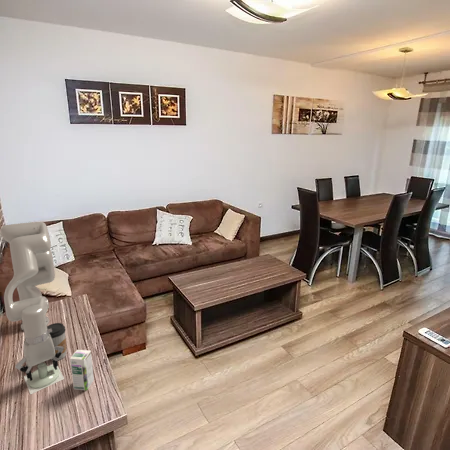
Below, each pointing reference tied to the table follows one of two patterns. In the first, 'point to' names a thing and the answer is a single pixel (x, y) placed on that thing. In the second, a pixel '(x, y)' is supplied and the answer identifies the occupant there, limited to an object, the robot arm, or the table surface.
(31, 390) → the mat
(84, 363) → the syrup box
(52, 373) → the lid
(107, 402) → the table surface
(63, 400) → the table surface
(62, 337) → the coffee cup
